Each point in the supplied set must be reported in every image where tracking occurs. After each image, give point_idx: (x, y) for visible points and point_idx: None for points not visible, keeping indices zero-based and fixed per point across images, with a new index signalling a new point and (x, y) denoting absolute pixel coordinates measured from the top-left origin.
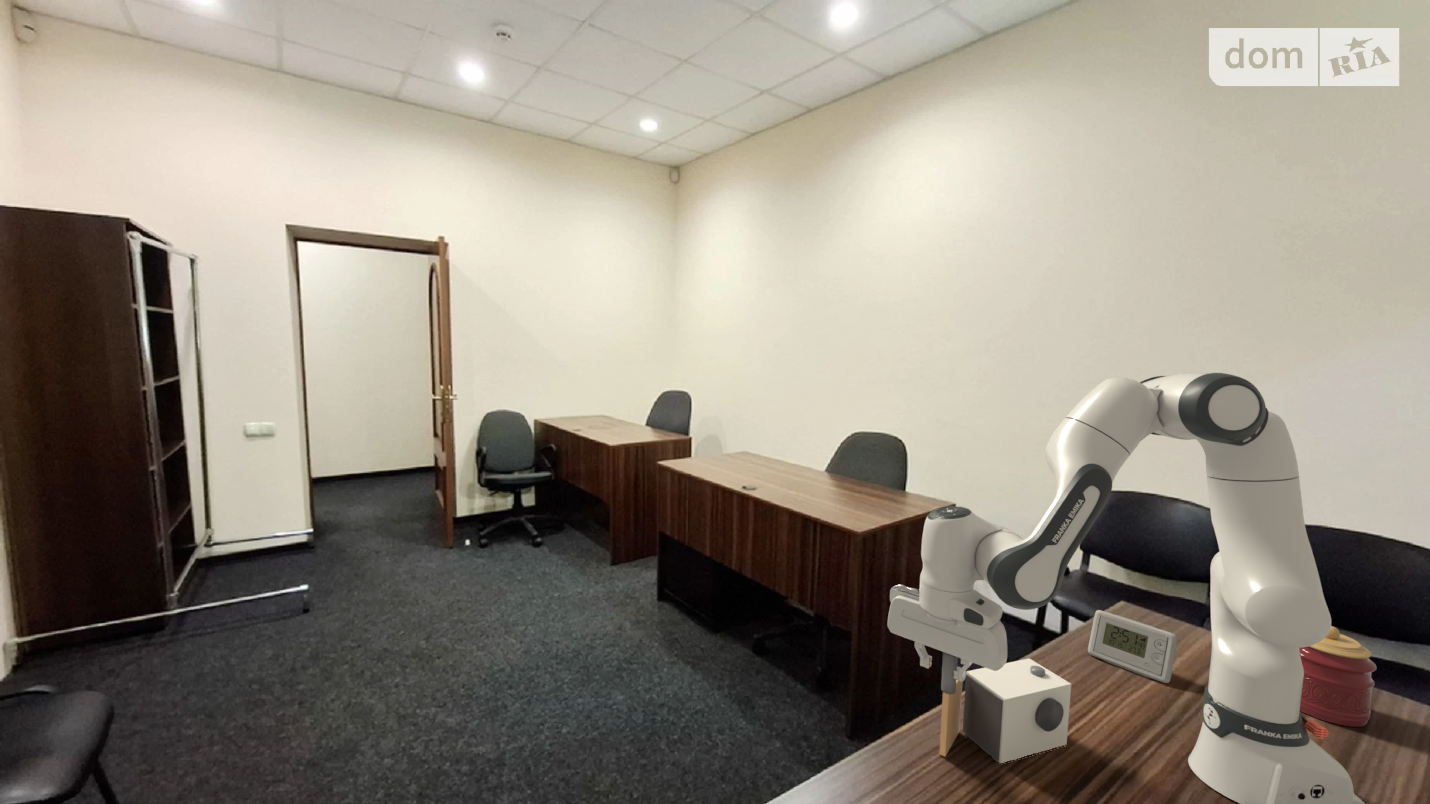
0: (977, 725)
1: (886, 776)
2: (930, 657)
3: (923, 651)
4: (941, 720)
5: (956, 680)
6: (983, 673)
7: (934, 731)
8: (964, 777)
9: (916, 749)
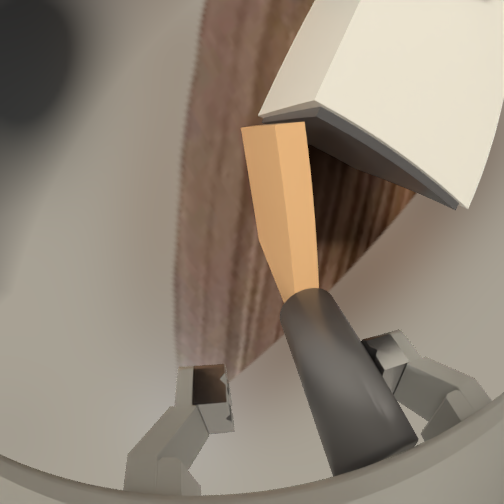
0: (320, 144)
1: (222, 350)
2: (228, 413)
3: (189, 444)
4: (275, 280)
5: (308, 218)
6: (378, 63)
7: (209, 171)
8: (319, 256)
9: (216, 260)
